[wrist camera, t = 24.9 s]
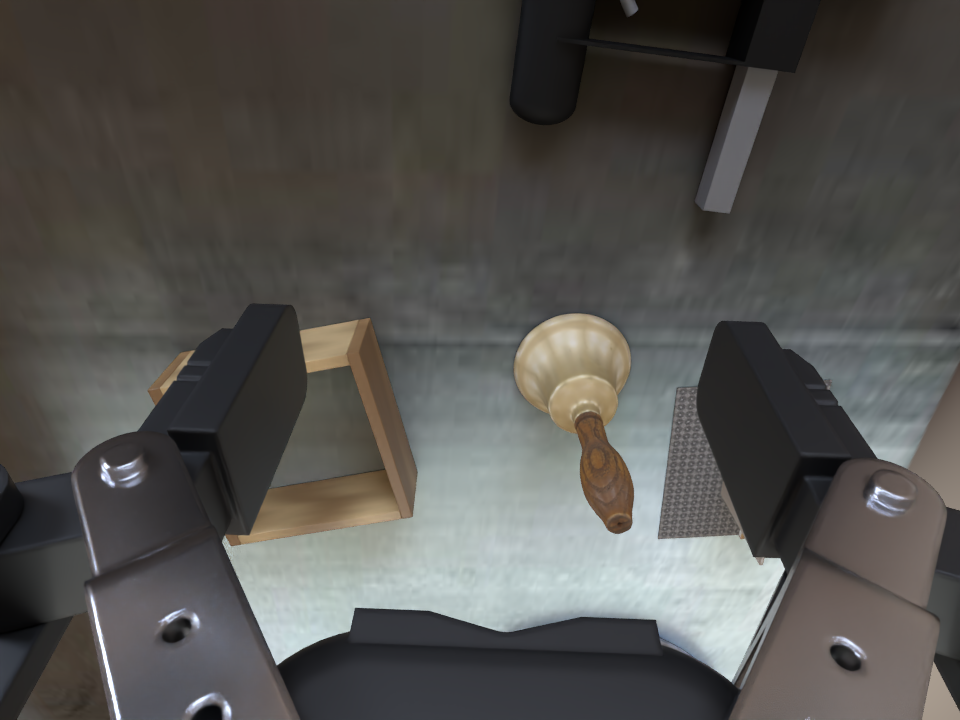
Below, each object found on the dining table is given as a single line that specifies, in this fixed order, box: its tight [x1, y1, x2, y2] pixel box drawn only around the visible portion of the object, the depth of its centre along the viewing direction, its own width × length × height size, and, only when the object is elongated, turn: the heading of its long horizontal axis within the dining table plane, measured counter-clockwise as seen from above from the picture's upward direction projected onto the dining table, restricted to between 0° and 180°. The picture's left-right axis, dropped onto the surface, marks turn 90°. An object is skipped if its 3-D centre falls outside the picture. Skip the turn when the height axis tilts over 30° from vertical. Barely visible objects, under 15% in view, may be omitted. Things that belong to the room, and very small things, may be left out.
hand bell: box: [514, 313, 634, 534], centre depth 36 cm, size 8×8×16 cm
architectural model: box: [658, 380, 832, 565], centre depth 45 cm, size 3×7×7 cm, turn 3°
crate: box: [148, 318, 417, 546], centre depth 43 cm, size 14×14×5 cm
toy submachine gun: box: [510, 0, 821, 213], centre depth 33 cm, size 3×20×16 cm
